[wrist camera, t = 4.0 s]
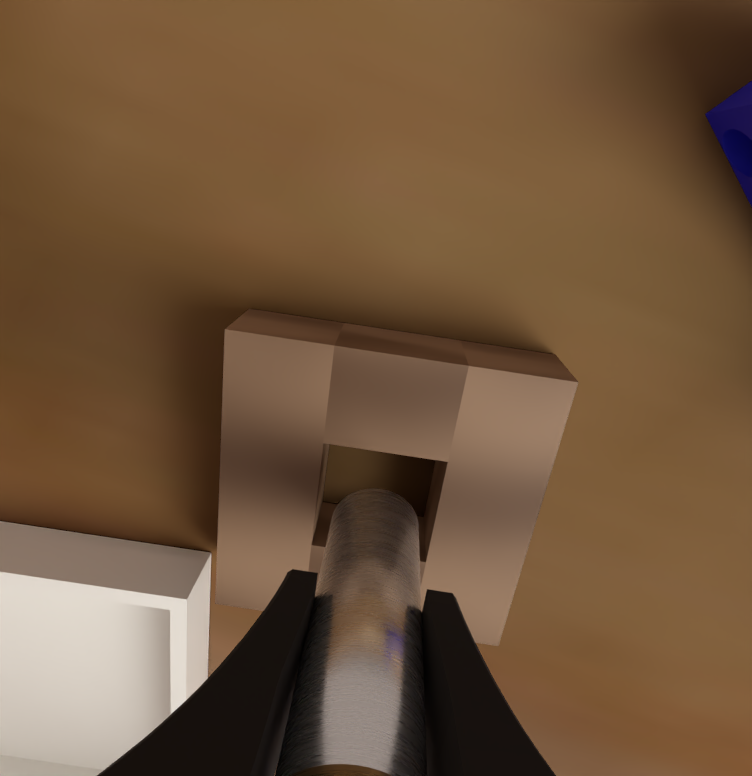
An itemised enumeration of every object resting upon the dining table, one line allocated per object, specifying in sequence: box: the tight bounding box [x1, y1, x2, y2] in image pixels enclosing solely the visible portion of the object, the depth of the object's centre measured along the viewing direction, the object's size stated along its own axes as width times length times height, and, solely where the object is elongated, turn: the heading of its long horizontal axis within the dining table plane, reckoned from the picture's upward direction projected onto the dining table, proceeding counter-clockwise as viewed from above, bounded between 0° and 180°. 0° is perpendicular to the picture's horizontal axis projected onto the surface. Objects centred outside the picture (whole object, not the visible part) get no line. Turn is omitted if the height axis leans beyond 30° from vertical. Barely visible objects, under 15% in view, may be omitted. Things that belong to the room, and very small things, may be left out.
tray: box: [0, 521, 211, 776], centre depth 22 cm, size 14×14×2 cm
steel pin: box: [275, 488, 427, 776], centre depth 12 cm, size 3×3×9 cm
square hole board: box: [215, 309, 578, 646], centre depth 18 cm, size 10×10×2 cm
